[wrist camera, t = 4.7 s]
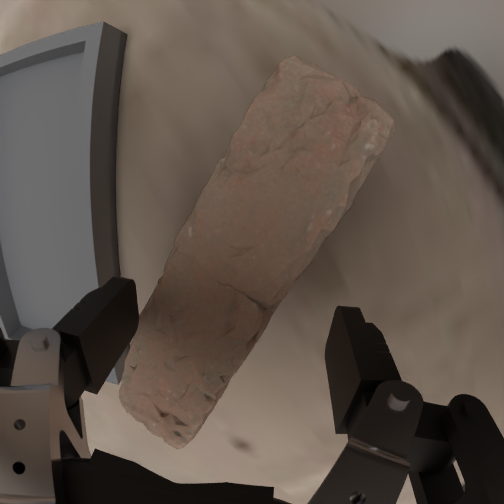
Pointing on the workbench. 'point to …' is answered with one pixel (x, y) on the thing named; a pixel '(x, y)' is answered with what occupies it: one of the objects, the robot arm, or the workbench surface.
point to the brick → (249, 242)
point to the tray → (58, 176)
